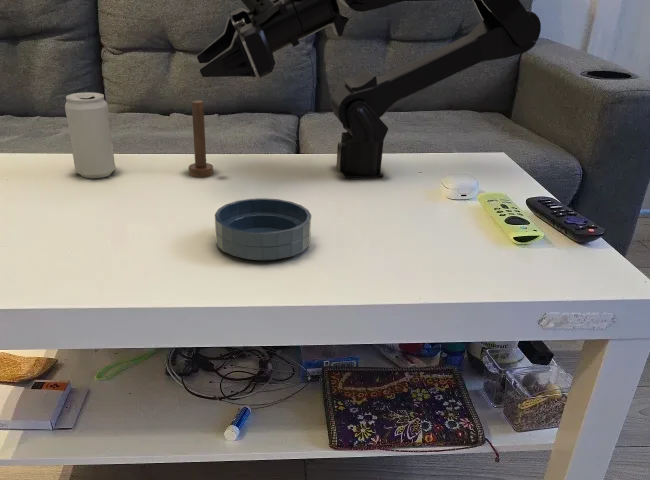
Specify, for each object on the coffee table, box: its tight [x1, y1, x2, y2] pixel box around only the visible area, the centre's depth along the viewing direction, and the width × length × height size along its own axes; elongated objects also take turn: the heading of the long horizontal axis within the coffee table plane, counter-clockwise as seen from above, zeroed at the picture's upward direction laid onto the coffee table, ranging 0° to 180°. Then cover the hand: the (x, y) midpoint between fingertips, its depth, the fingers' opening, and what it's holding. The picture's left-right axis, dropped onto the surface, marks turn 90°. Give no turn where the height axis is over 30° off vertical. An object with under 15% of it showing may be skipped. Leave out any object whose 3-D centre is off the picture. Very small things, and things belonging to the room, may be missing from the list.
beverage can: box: [64, 91, 116, 179], centre depth 105 cm, size 6×6×12 cm
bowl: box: [214, 197, 312, 262], centre depth 85 cm, size 12×12×4 cm
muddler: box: [188, 99, 214, 178], centre depth 106 cm, size 4×4×11 cm
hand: (199, 66), depth 98 cm, fingers open, 9 cm apart
